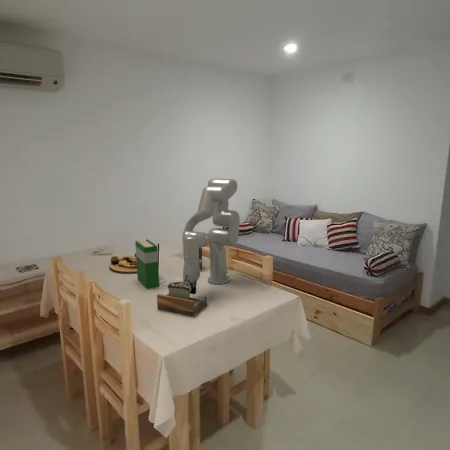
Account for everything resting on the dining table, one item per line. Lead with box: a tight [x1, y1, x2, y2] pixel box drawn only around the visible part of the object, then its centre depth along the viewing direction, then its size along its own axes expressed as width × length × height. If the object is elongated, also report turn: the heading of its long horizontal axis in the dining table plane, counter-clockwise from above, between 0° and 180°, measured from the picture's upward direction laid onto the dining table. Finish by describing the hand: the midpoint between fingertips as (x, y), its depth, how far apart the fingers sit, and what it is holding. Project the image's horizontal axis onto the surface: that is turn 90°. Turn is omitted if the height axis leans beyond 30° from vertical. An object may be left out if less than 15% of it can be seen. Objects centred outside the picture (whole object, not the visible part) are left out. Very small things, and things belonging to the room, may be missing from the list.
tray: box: [156, 293, 208, 318], centre depth 178 cm, size 14×20×8 cm
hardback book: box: [134, 238, 160, 290], centre depth 209 cm, size 18×7×24 cm, turn 29°
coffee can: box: [199, 247, 203, 272], centre depth 233 cm, size 10×10×14 cm
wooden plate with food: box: [109, 252, 137, 275], centre depth 242 cm, size 32×32×8 cm
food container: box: [166, 281, 191, 300], centre depth 177 cm, size 12×6×10 cm, turn 70°
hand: (192, 293), depth 187 cm, fingers closed
